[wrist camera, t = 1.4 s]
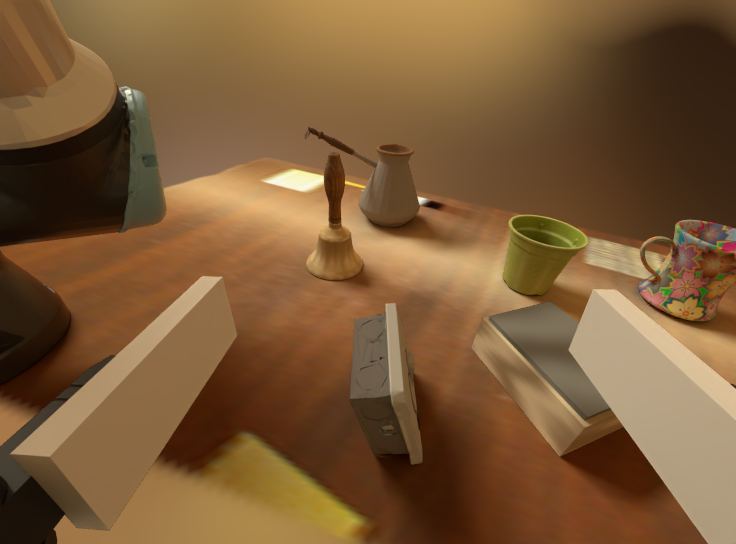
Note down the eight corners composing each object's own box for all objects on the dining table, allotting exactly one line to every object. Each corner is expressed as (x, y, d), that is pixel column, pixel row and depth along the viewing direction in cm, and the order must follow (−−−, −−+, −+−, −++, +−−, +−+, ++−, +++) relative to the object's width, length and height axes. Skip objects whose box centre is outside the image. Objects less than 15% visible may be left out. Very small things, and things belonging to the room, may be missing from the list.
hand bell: (366, 279, 44) (374, 164, 35) (305, 282, 42) (298, 162, 33) (359, 249, 50) (364, 145, 41) (306, 250, 49) (300, 143, 40)
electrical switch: (423, 469, 24) (433, 398, 19) (356, 469, 24) (347, 399, 19) (411, 369, 32) (415, 298, 26) (360, 369, 32) (354, 299, 27)
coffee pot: (417, 209, 65) (429, 131, 56) (417, 235, 55) (432, 146, 47) (316, 198, 66) (314, 120, 58) (300, 221, 57) (294, 133, 48)
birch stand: (471, 347, 34) (483, 314, 32) (533, 330, 37) (550, 298, 34) (559, 456, 25) (588, 423, 23) (632, 422, 28) (666, 389, 25)
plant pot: (502, 258, 51) (520, 208, 46) (565, 282, 46) (593, 229, 41) (480, 284, 44) (499, 229, 39) (551, 314, 40) (582, 257, 35)
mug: (690, 291, 46) (745, 227, 40) (732, 335, 39) (806, 264, 33) (601, 274, 48) (640, 211, 42) (624, 313, 41) (675, 243, 35)
